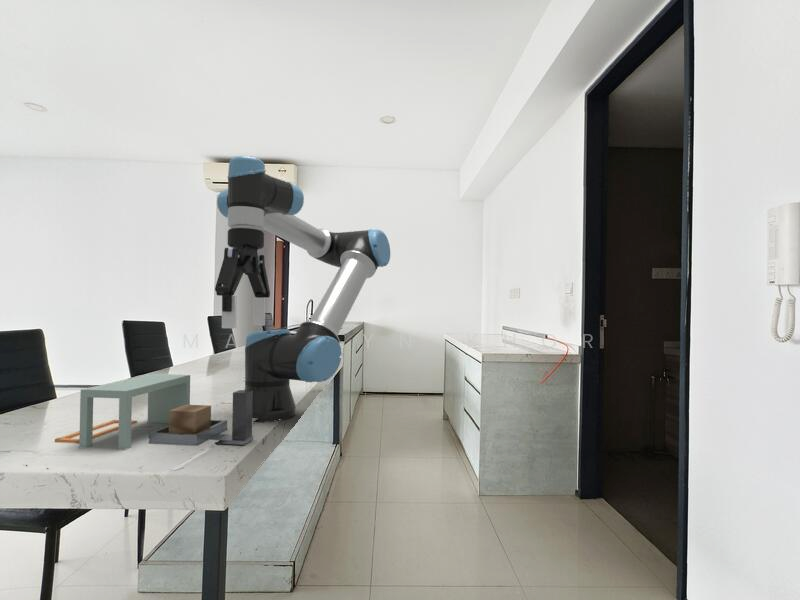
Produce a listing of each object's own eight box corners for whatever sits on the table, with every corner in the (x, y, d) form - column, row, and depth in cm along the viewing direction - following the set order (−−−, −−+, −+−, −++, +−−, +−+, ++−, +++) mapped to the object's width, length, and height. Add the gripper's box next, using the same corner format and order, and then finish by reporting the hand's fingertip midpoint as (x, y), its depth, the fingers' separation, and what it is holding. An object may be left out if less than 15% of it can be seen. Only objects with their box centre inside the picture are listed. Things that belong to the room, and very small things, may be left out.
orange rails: (136, 426, 104) (137, 420, 104) (80, 447, 89) (80, 440, 89) (114, 425, 105) (114, 419, 105) (54, 446, 89) (54, 439, 89)
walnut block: (210, 432, 97) (211, 405, 97) (195, 440, 91) (195, 411, 91) (185, 431, 98) (186, 404, 98) (168, 439, 92) (169, 410, 92)
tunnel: (189, 426, 105) (190, 374, 106) (125, 454, 85) (126, 391, 85) (151, 424, 107) (152, 373, 107) (79, 452, 86) (80, 389, 86)
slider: (260, 433, 99) (261, 386, 99) (234, 451, 87) (235, 397, 87) (183, 430, 101) (184, 384, 101) (147, 446, 89) (148, 394, 89)
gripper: (255, 238, 107) (254, 324, 106) (196, 218, 82) (195, 329, 82) (284, 238, 106) (283, 324, 106) (233, 217, 81) (232, 329, 81)
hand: (244, 327), depth 94 cm, fingers open, 13 cm apart
